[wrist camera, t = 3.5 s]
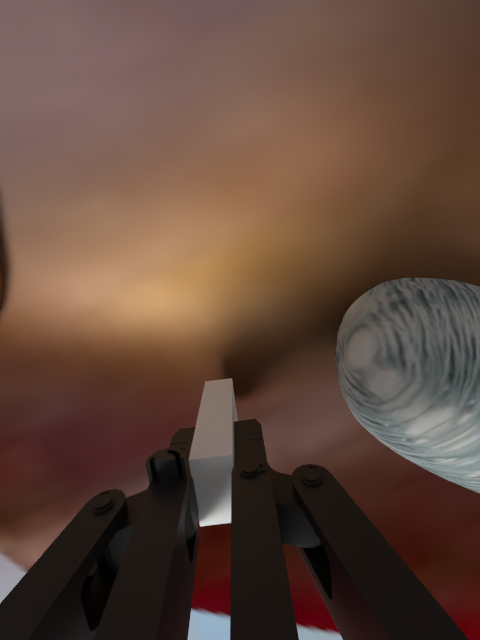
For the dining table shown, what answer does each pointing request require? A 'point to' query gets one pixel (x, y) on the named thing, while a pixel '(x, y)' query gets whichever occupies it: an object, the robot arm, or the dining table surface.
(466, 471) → the streaked grey egg
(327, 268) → the dining table surface
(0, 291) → the plant
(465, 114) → the dining table surface
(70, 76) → the dining table surface
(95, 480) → the dining table surface
